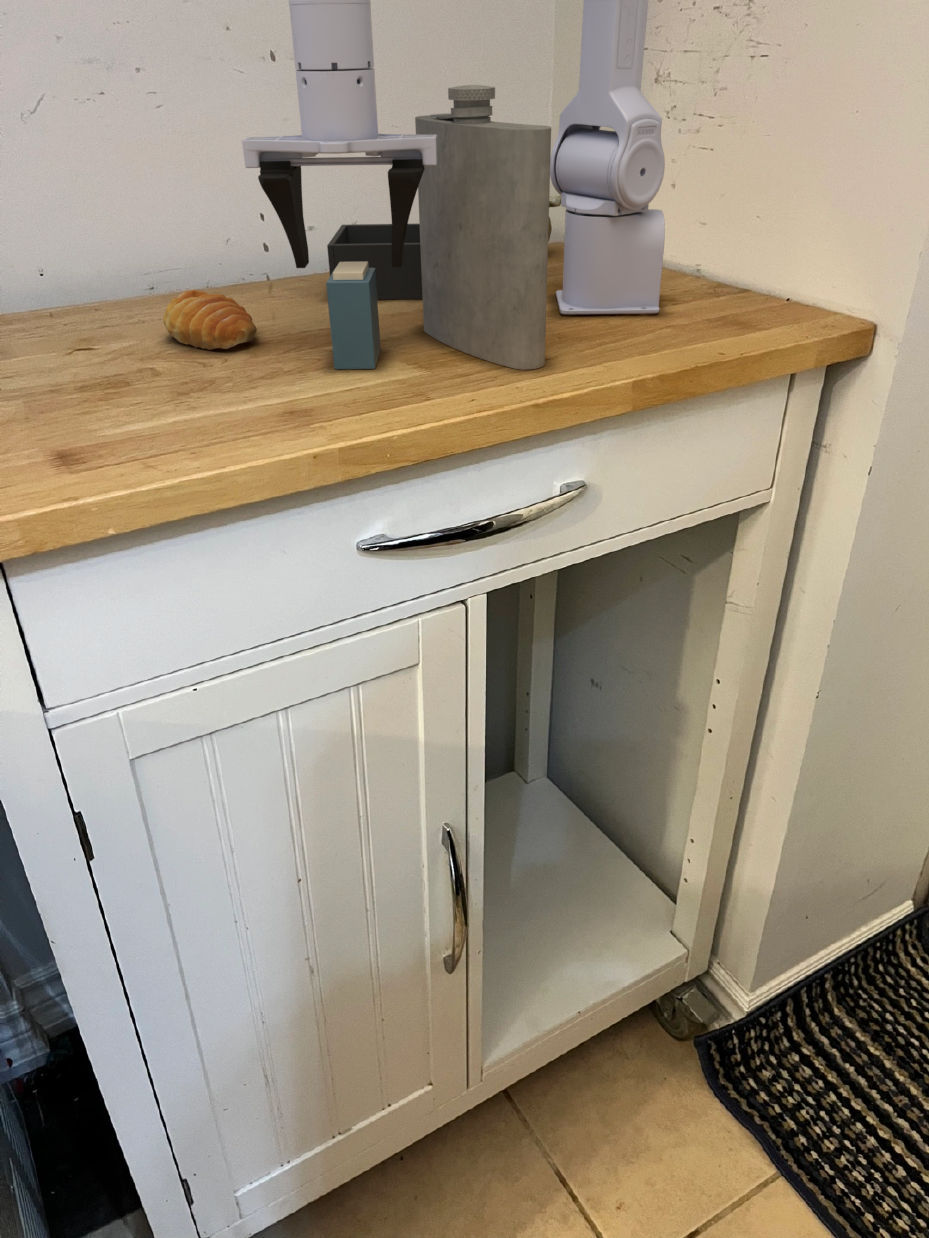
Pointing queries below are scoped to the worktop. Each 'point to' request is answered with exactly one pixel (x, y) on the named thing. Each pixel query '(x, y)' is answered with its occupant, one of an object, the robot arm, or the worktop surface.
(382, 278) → the bin
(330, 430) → the worktop surface
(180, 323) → the pastry
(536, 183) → the hip flask
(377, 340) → the juice carton
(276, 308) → the worktop surface
